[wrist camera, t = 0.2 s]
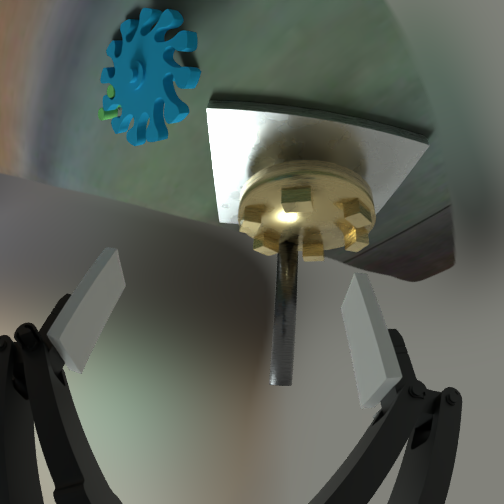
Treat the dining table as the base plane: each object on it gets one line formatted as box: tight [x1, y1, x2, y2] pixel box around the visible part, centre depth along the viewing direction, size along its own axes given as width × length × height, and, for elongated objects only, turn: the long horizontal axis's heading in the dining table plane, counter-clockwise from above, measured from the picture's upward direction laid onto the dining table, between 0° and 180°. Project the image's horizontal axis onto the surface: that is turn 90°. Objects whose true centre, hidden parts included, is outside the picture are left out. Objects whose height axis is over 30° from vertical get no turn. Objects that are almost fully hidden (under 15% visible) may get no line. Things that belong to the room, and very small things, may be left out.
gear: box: [98, 8, 201, 146], centre depth 16 cm, size 11×6×10 cm
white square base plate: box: [207, 100, 429, 224], centre depth 30 cm, size 20×20×3 cm
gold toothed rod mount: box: [238, 160, 376, 386], centre depth 26 cm, size 14×14×18 cm
